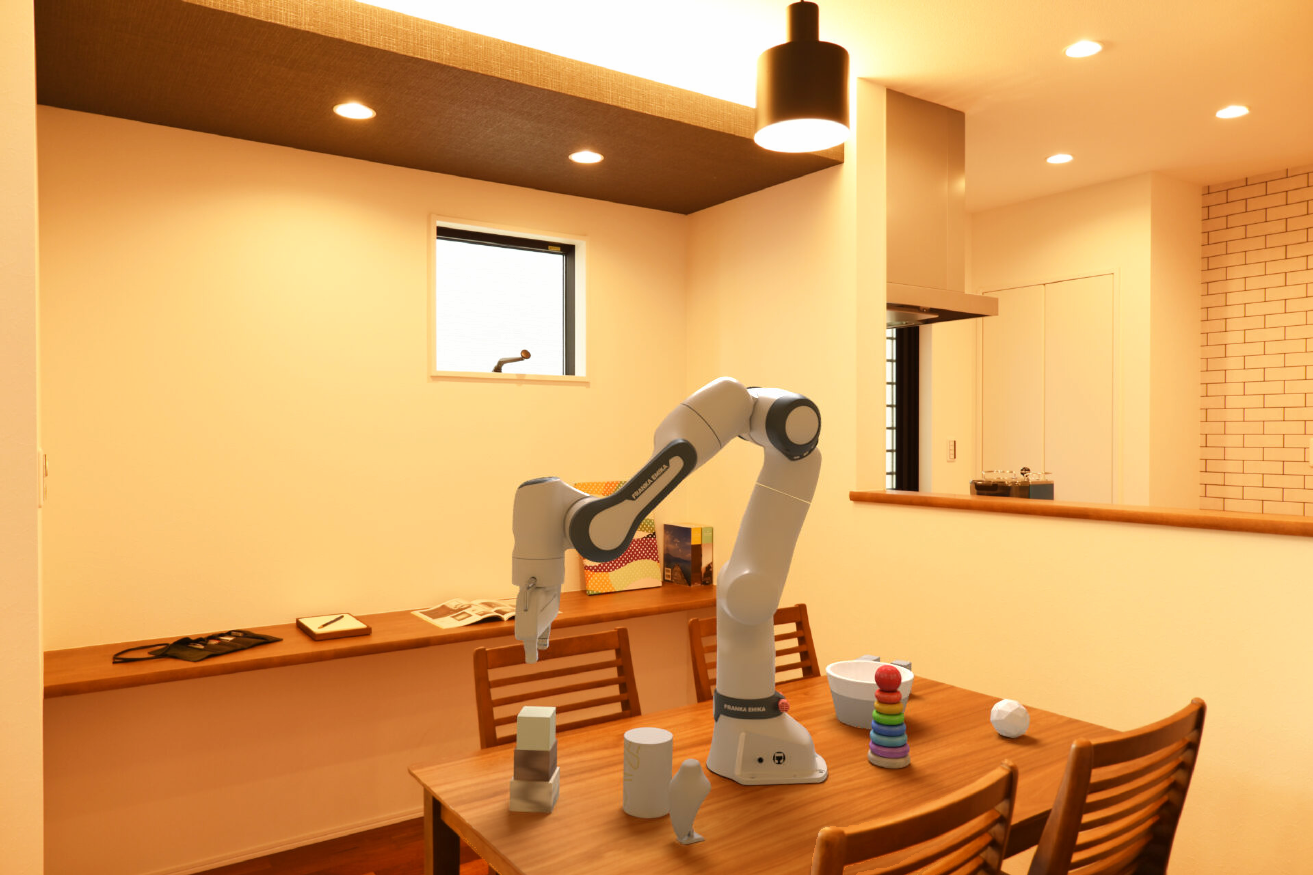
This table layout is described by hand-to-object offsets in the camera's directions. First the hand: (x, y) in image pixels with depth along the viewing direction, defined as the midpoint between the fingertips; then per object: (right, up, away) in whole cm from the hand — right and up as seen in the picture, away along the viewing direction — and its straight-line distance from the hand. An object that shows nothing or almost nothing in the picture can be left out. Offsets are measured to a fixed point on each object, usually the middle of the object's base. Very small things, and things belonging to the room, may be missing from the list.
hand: (537, 655), depth 145 cm
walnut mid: (0, -20, 0) cm, 20 cm away
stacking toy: (+65, -26, +21) cm, 73 cm away
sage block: (0, -15, 0) cm, 15 cm away
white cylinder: (+19, -25, -1) cm, 31 cm away
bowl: (+68, -26, +47) cm, 86 cm away
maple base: (0, -25, 0) cm, 25 cm away
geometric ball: (+95, -27, +37) cm, 105 cm away
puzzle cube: (+75, -27, +66) cm, 103 cm away
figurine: (+25, -25, -13) cm, 38 cm away
